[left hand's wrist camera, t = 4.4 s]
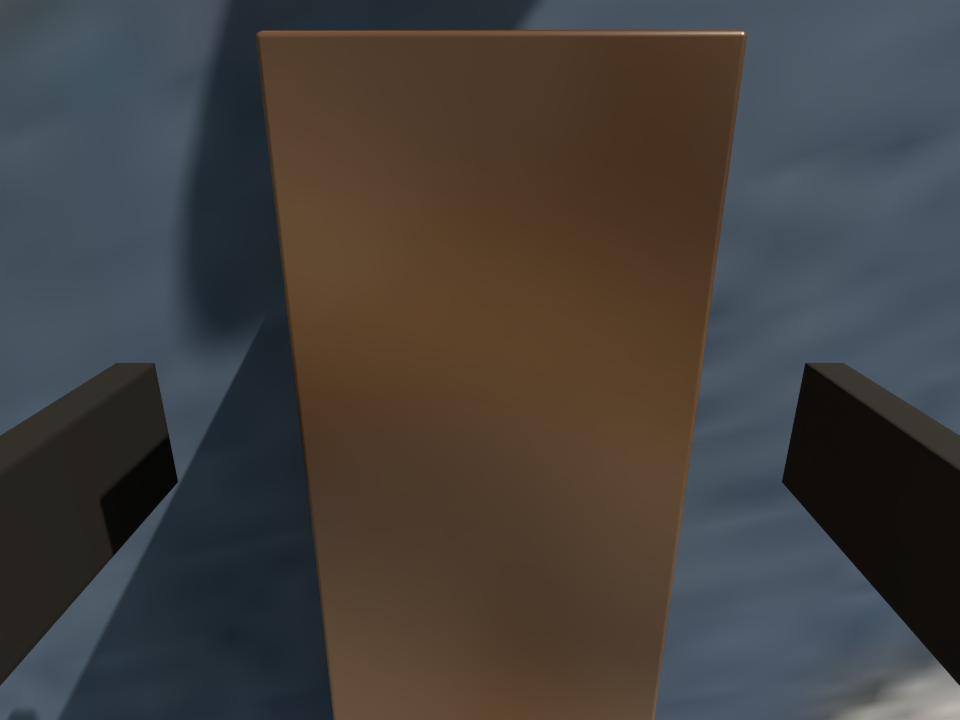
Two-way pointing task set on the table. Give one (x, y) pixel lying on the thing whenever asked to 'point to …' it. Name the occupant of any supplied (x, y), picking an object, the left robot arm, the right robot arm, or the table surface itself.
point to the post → (497, 350)
